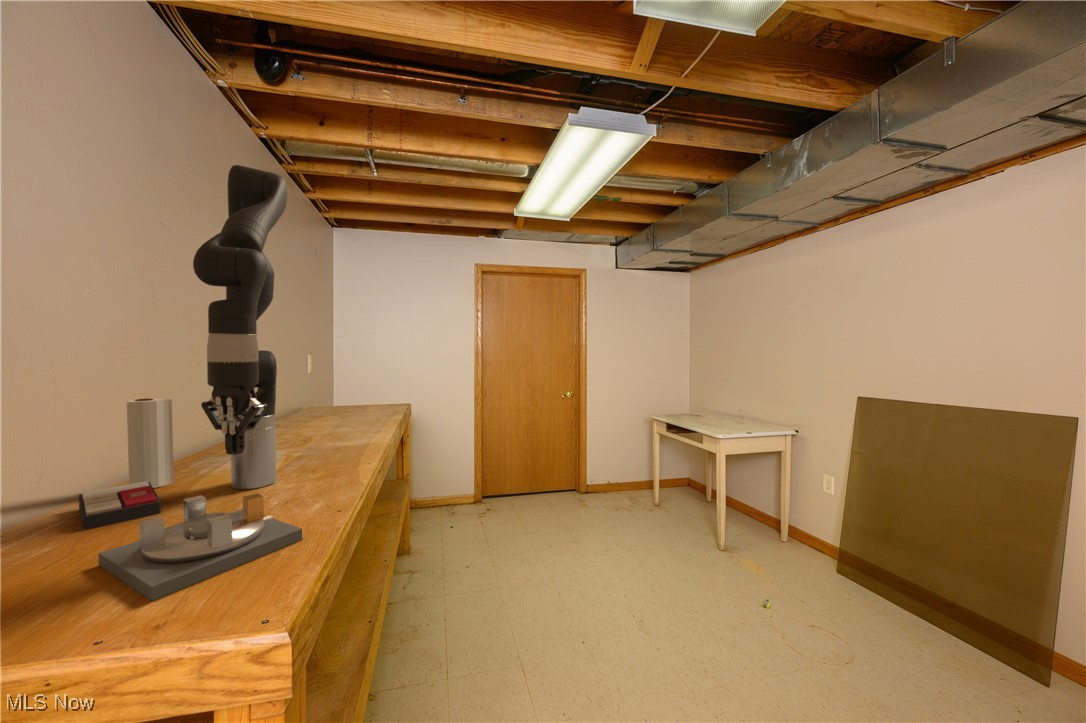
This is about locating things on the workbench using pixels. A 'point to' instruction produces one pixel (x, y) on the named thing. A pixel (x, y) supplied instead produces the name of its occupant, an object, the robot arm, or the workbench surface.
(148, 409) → the paper towel roll
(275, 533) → the base plate
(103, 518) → the calculator
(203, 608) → the workbench surface
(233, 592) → the workbench surface
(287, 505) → the workbench surface
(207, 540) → the lugged metal dish
